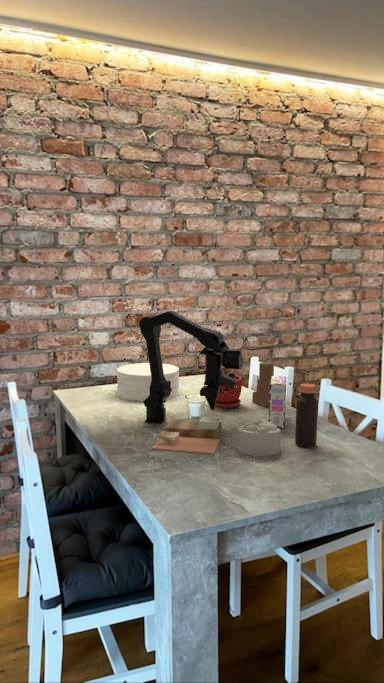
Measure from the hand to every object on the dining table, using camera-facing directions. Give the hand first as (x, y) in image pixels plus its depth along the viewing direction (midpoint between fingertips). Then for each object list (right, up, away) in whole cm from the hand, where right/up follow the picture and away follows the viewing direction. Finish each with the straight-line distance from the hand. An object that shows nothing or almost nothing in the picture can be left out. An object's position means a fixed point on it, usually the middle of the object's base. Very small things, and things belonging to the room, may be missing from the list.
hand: (212, 409), depth 180 cm
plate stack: (-27, +1, +50) cm, 57 cm away
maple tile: (-15, -6, -15) cm, 22 cm away
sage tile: (-1, -5, -7) cm, 9 cm away
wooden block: (+23, -2, +33) cm, 40 cm away
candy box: (+25, -6, +8) cm, 27 cm away
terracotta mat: (-9, -9, -16) cm, 21 cm away
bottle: (+30, -10, -15) cm, 35 cm away
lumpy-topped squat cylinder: (+14, -10, -20) cm, 26 cm away
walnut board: (-7, -8, -5) cm, 11 cm away
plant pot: (+7, -2, +31) cm, 32 cm away
